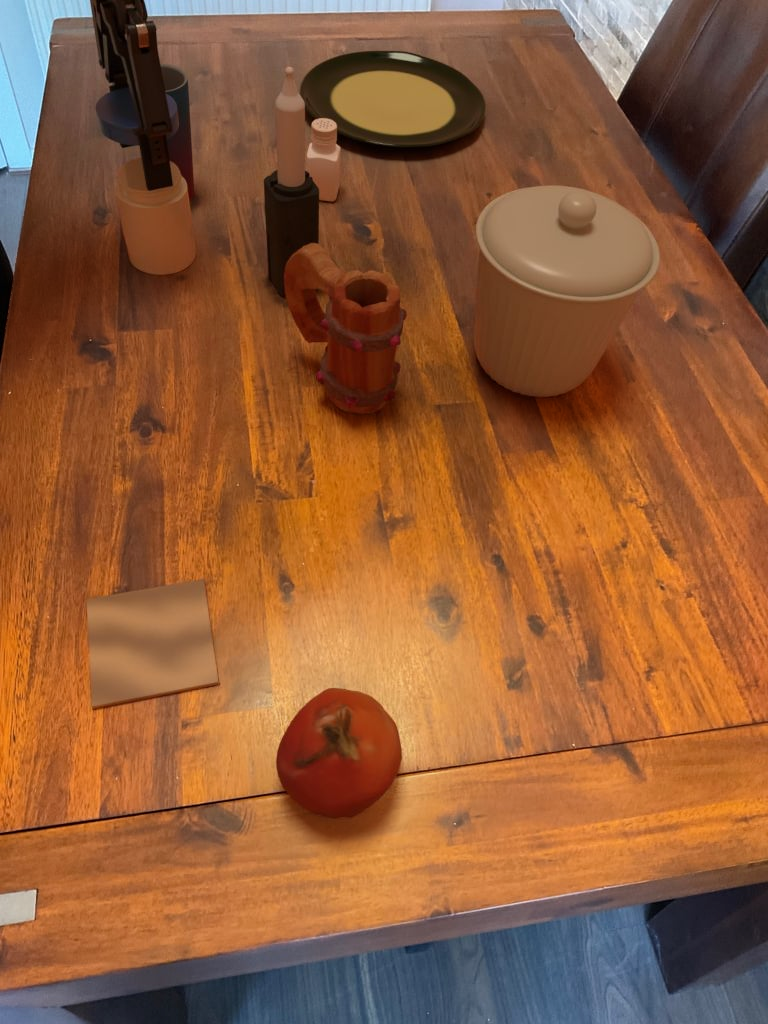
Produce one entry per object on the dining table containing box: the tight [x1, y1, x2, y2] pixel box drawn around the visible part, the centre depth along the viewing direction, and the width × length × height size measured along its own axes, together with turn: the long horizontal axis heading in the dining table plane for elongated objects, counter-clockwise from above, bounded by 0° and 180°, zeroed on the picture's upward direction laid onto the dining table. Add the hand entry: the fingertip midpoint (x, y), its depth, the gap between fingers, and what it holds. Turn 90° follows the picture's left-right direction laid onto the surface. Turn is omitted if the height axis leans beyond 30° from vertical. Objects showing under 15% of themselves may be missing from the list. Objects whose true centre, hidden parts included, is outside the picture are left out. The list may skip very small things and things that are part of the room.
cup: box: [160, 62, 195, 202], centre depth 99 cm, size 7×7×15 cm
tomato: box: [275, 687, 403, 820], centre depth 59 cm, size 9×9×8 cm
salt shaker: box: [306, 118, 342, 202], centre depth 104 cm, size 4×4×10 cm
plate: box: [299, 50, 487, 148], centre depth 121 cm, size 28×28×2 cm
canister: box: [473, 184, 661, 398], centre depth 83 cm, size 18×18×21 cm
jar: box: [113, 157, 197, 276], centre depth 93 cm, size 8×8×11 cm
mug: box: [284, 243, 408, 414], centre depth 81 cm, size 15×8×15 cm, turn 48°
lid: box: [95, 88, 179, 147], centre depth 84 cm, size 8×8×2 cm
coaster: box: [85, 578, 220, 710], centre depth 67 cm, size 10×10×1 cm
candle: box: [263, 66, 320, 298], centre depth 86 cm, size 5×5×25 cm
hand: (146, 164), depth 88 cm, fingers closed on lid, 8 cm apart
